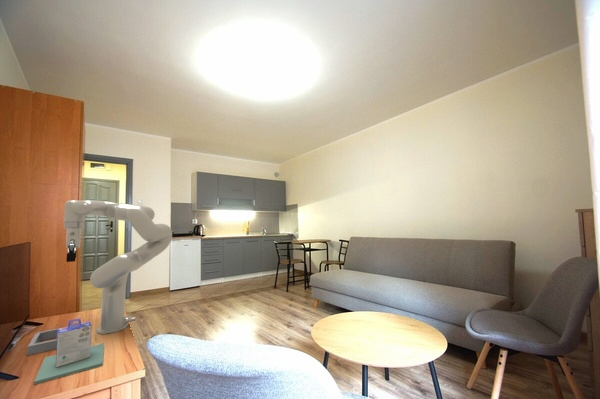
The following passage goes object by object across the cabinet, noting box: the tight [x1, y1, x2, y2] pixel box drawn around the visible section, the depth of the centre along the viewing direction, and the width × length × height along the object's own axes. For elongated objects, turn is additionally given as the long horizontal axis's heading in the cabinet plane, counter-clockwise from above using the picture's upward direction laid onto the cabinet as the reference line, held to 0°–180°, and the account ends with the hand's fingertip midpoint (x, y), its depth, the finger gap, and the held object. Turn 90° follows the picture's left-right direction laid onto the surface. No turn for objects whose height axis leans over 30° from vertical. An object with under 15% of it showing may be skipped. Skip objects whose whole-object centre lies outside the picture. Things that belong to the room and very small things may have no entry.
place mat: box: [33, 343, 105, 386], centre depth 97 cm, size 18×18×1 cm
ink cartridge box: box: [55, 317, 92, 367], centre depth 97 cm, size 10×6×14 cm, turn 135°
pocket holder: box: [26, 325, 68, 356], centre depth 112 cm, size 15×15×4 cm
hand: (71, 260), depth 126 cm, fingers open, 9 cm apart
